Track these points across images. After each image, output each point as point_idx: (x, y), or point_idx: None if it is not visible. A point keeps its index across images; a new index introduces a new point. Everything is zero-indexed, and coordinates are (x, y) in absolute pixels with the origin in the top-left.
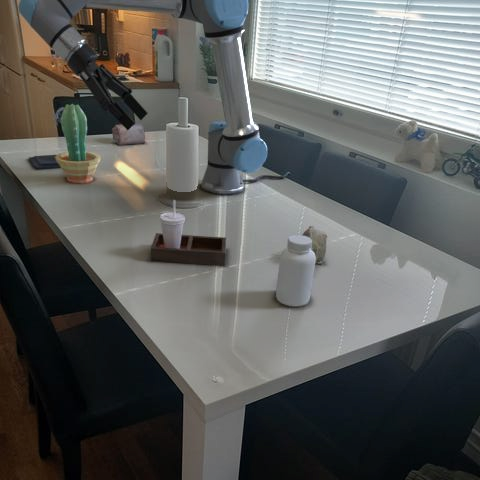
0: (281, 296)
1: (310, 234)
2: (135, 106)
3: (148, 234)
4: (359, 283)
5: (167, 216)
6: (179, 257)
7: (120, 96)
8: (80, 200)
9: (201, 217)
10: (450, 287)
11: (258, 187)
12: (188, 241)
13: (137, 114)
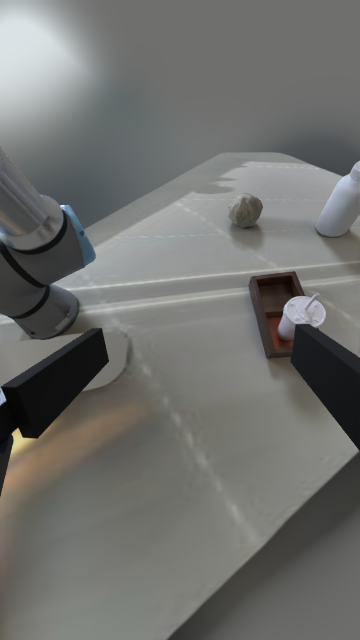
0: (349, 227)
1: (257, 198)
2: (74, 368)
3: (233, 376)
4: (275, 196)
5: (310, 316)
6: None
7: (6, 464)
8: (106, 548)
9: (159, 322)
10: (256, 160)
11: None
12: (280, 310)
13: (95, 368)
